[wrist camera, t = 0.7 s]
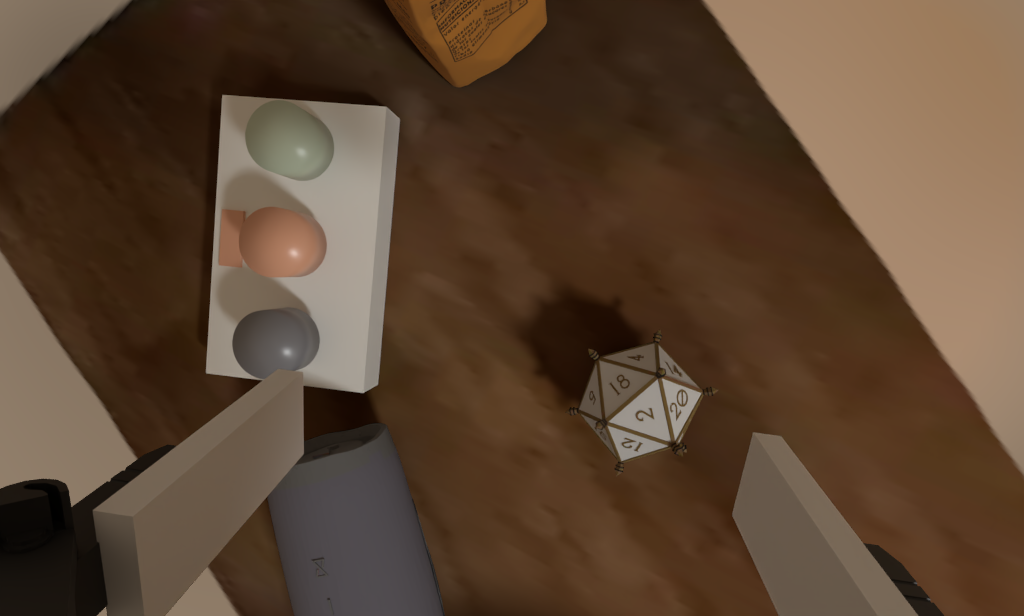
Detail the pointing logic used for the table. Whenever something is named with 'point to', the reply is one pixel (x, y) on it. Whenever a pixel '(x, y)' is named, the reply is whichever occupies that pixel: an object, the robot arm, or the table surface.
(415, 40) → the coffee package
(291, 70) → the table surface
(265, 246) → the terracotta button
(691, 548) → the table surface
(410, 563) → the bluetooth speaker
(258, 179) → the console
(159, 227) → the table surface
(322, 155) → the sage button
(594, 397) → the game die
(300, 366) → the charcoal button
